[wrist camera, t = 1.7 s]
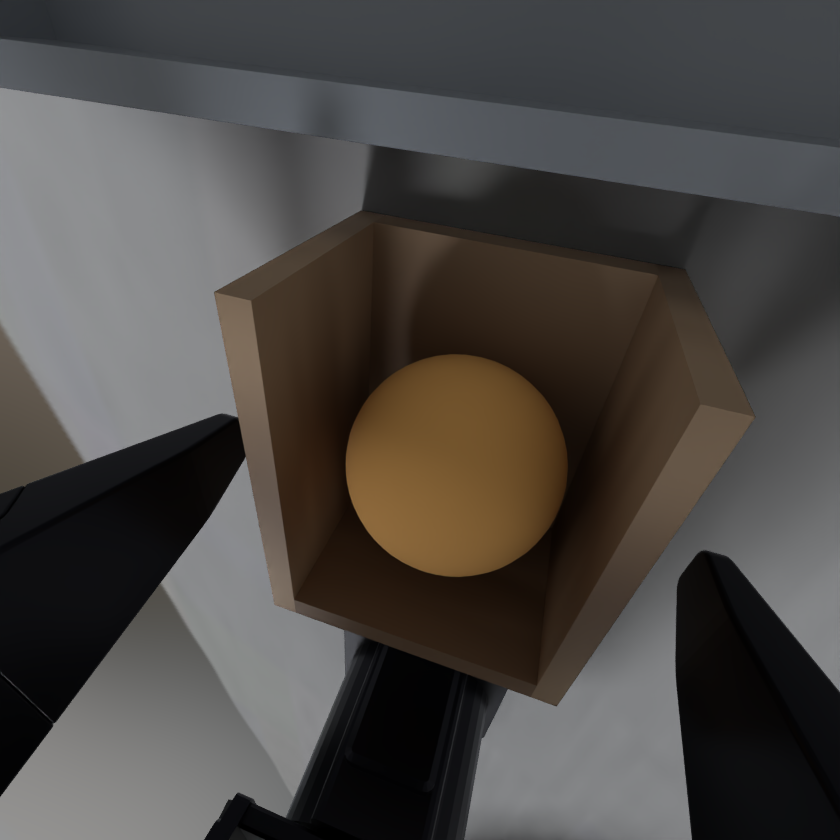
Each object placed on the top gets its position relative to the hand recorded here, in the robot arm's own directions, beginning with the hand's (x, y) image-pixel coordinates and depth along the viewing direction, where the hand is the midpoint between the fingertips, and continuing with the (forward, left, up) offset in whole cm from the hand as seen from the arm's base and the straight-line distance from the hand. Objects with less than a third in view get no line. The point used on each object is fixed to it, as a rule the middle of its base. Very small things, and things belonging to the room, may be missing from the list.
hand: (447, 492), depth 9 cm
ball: (+1, 0, 0) cm, 1 cm away
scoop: (+1, 0, -3) cm, 3 cm away
